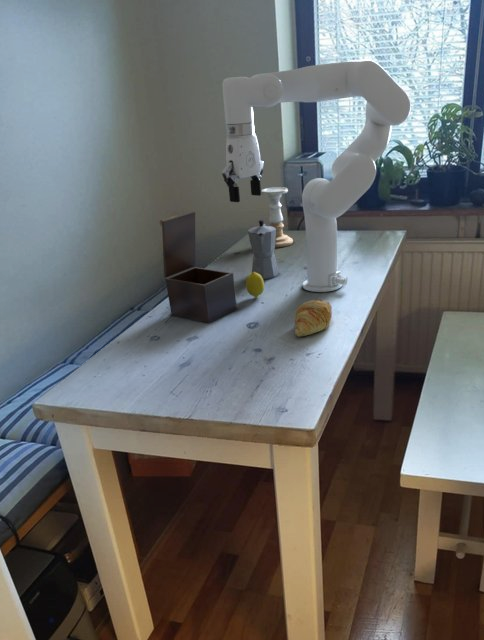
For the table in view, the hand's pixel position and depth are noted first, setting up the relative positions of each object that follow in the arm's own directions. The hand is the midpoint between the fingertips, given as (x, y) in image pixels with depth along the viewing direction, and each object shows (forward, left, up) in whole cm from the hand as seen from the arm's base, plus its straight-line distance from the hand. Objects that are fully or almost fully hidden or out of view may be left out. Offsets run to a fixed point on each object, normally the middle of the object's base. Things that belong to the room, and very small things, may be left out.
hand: (245, 198), depth 172 cm
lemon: (0, 0, -29) cm, 29 cm away
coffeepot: (+12, -21, -29) cm, 38 cm away
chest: (+6, +17, -29) cm, 34 cm away
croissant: (-29, +12, -29) cm, 43 cm away
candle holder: (+32, -56, -29) cm, 71 cm away
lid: (+12, +17, -10) cm, 23 cm away
